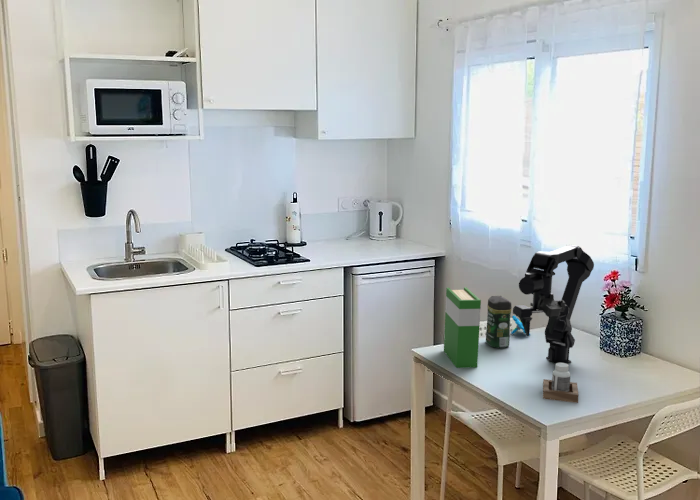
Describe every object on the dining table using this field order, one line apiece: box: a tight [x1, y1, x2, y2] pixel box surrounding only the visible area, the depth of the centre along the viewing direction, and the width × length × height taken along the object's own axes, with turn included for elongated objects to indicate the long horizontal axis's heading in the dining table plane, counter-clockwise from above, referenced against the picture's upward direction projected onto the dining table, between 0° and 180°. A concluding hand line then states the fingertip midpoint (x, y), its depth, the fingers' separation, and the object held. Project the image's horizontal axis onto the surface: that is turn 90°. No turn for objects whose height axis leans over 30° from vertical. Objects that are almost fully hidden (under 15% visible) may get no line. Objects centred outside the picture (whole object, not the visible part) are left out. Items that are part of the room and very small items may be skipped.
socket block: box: [542, 378, 579, 404], centre depth 227 cm, size 10×10×3 cm
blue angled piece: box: [510, 315, 531, 337], centre depth 287 cm, size 11×6×10 cm
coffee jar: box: [485, 295, 513, 349], centre depth 272 cm, size 10×8×19 cm
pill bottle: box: [551, 363, 571, 392], centre depth 227 cm, size 5×5×10 cm
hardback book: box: [443, 287, 482, 369], centre depth 256 cm, size 18×7×24 cm, turn 7°
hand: (539, 334), depth 245 cm, fingers open, 9 cm apart
